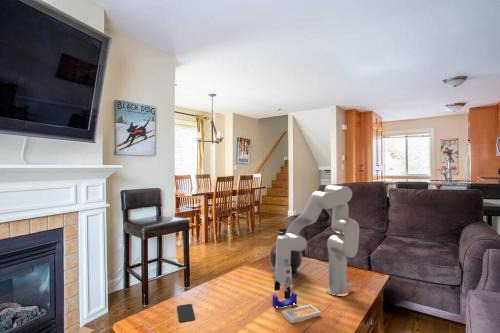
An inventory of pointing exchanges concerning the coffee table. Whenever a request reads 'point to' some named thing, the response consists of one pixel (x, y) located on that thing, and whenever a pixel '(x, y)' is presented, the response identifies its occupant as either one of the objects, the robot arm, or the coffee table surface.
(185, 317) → the phone
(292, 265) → the amphora vase
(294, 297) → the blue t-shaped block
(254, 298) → the coffee table surface
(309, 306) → the tray
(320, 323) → the coffee table surface
